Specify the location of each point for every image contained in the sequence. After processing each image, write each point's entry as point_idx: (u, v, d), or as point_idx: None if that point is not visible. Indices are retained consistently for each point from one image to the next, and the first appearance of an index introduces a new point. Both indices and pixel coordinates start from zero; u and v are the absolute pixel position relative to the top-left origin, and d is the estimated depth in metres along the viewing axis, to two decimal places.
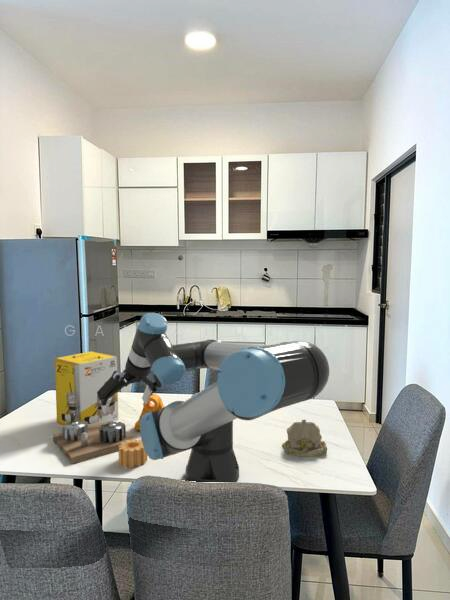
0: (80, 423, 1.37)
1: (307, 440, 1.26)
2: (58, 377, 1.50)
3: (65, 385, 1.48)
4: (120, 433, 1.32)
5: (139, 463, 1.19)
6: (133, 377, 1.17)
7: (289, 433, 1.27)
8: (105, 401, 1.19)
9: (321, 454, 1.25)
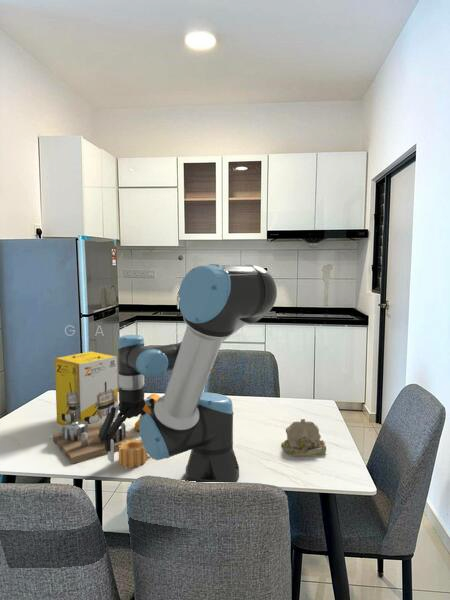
0: (80, 423, 1.37)
1: (306, 439, 1.26)
2: (58, 377, 1.50)
3: (65, 385, 1.48)
4: (120, 433, 1.32)
5: (139, 463, 1.19)
6: (129, 408, 1.19)
7: (288, 433, 1.27)
8: (108, 445, 1.17)
9: (320, 453, 1.25)
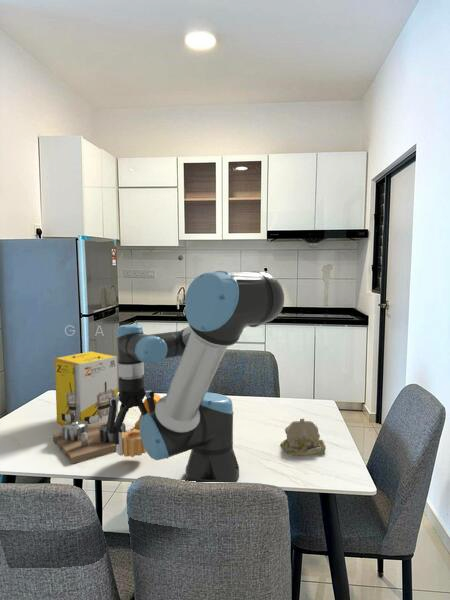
0: (80, 423, 1.37)
1: (306, 439, 1.27)
2: (58, 377, 1.50)
3: (65, 385, 1.48)
4: None
5: (140, 452, 1.18)
6: (129, 398, 1.18)
7: (288, 432, 1.28)
8: (117, 438, 1.17)
9: (320, 453, 1.26)
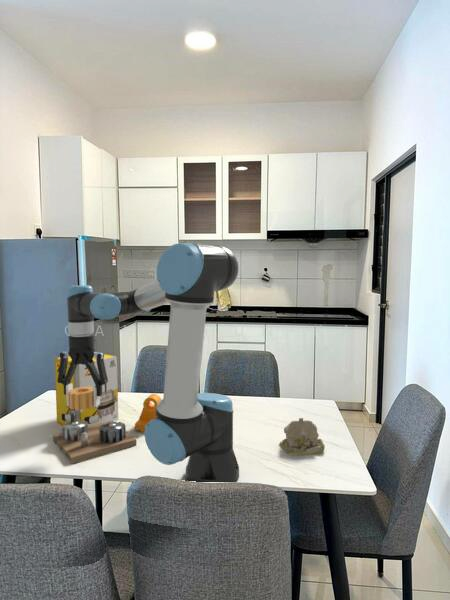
0: (80, 423, 1.37)
1: (305, 438, 1.27)
2: None
3: None
4: (120, 433, 1.32)
5: (77, 407, 1.23)
6: (74, 354, 1.25)
7: (287, 432, 1.28)
8: (65, 388, 1.27)
9: (319, 452, 1.26)
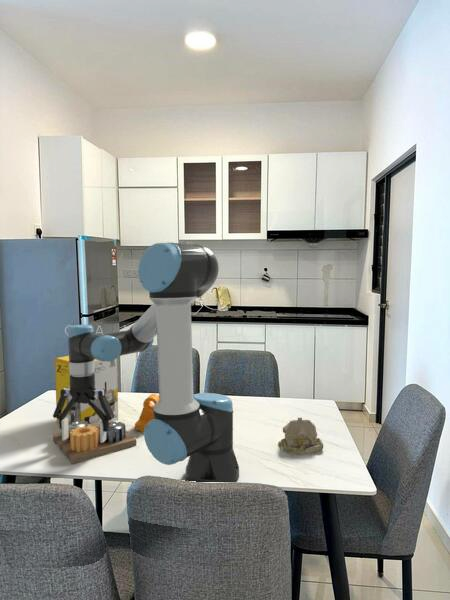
0: (80, 423, 1.37)
1: (304, 438, 1.28)
2: (58, 377, 1.50)
3: (65, 385, 1.48)
4: (120, 433, 1.32)
5: (78, 449, 1.24)
6: (75, 393, 1.26)
7: (286, 431, 1.28)
8: (61, 423, 1.28)
9: (318, 451, 1.27)
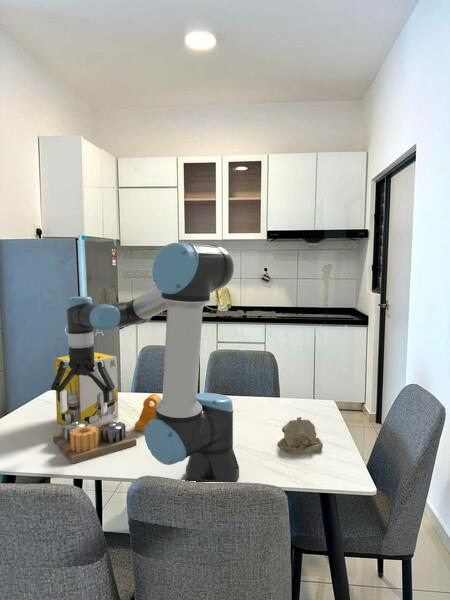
0: (80, 423, 1.37)
1: (303, 437, 1.28)
2: None
3: None
4: (120, 433, 1.32)
5: (78, 449, 1.24)
6: (75, 365, 1.25)
7: (286, 431, 1.29)
8: (59, 395, 1.27)
9: (317, 450, 1.27)
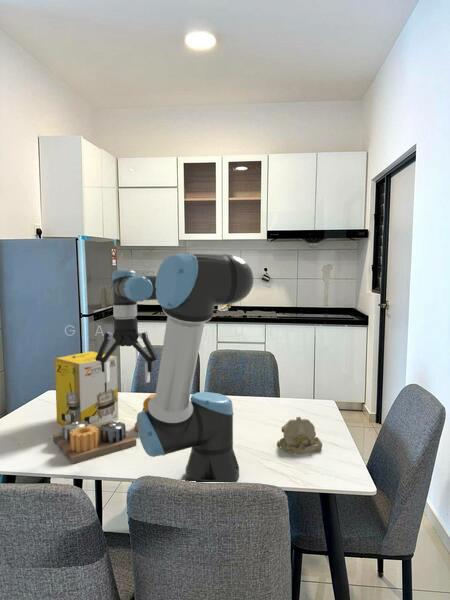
0: (80, 423, 1.37)
1: (303, 437, 1.28)
2: (58, 377, 1.50)
3: (65, 385, 1.48)
4: (120, 433, 1.32)
5: (78, 449, 1.24)
6: (119, 336, 1.30)
7: (285, 431, 1.29)
8: (103, 366, 1.32)
9: (317, 450, 1.28)
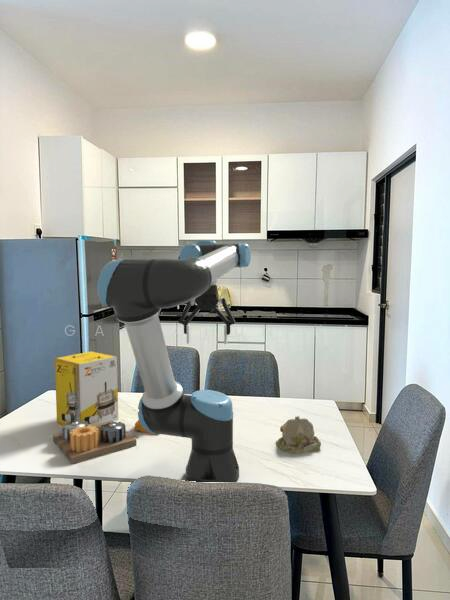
0: (80, 423, 1.37)
1: (302, 436, 1.29)
2: (58, 377, 1.50)
3: (65, 385, 1.48)
4: (120, 433, 1.32)
5: (78, 449, 1.24)
6: (201, 301, 1.41)
7: (284, 431, 1.29)
8: (185, 328, 1.44)
9: (316, 449, 1.28)
